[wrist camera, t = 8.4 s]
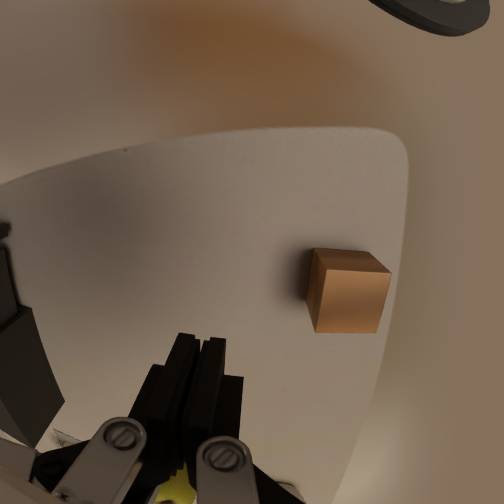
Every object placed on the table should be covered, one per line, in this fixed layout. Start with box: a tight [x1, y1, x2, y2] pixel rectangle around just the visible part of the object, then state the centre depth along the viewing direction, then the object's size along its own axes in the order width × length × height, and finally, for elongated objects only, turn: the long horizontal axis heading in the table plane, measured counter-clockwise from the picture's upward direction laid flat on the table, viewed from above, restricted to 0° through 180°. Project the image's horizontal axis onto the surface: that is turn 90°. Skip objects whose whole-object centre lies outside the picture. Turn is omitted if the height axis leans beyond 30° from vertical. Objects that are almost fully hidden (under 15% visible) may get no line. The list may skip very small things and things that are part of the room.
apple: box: [153, 463, 196, 504], centre depth 27 cm, size 8×8×10 cm
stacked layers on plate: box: [53, 429, 81, 448], centre depth 30 cm, size 10×9×6 cm
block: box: [306, 248, 392, 333], centre depth 20 cm, size 4×4×4 cm
